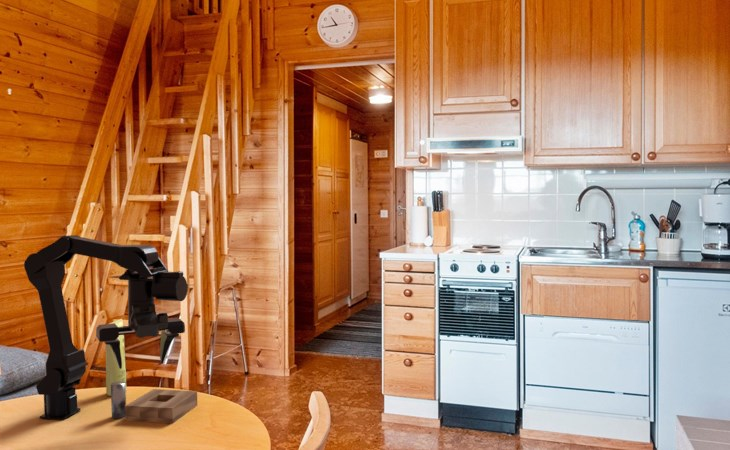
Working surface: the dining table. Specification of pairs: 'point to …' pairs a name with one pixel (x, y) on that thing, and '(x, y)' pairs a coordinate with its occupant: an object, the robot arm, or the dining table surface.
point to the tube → (115, 363)
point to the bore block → (161, 406)
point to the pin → (118, 399)
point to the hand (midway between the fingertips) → (141, 365)
